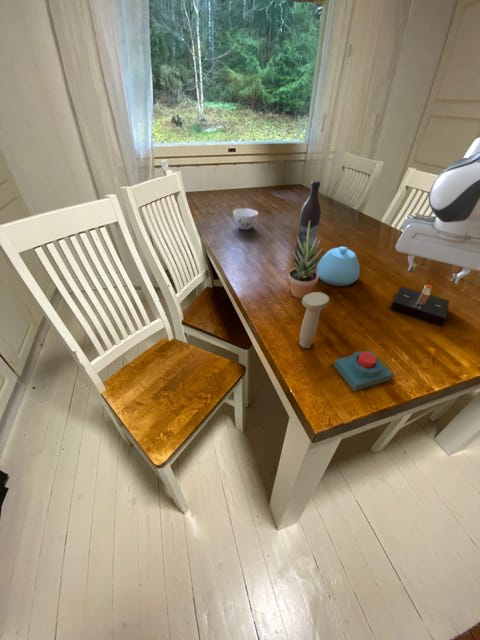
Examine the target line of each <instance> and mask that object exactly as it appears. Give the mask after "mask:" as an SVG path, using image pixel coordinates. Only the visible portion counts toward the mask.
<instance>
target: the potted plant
mask: <svg viewBox="0 0 480 640" xmlns="http://www.w3.org/2000/svg"><path fill="white" fill-rule="evenodd" d="M318 238H319V237H318V235H317V236H316V240H315V241H314V244H313V245H312V247H311V249H310V243H311V239H310V221H309V224H308V231H307V244H306V241H305V242H304V248H303V246H302V244H301V242H300V240H299V237H298V236H296V240H297V239H298V243H299V246H300V249H301V252H302V254H303V256H302V255H301V254H300V252H299V250H298V249H297V254H298V257H299V259H300V261H301V262H300V261H299V259H298V258H297V256H296V254H295V250H292V254H293V257H294V256H295V258H296V260H297V261H298V263H299V265H300V266H298V265H297V264H296V263H295V262H294V261H293V264H294V263H295V264H294V265H295V266H296V267H294V268H293V269H291V270H289V271H288V281H289V284H290V288H291V289H290V291H291V295H292V296H293V297H294V298H298V299H303V297H304V296H305V295H307V294H309V293H312V291H313V289H314V287H315V285H316V284H317V283H318V281H319V279H320V278H319V276H318V273H317V272H316V271H318V270H317V269H318V268H317V265H318V263H319V262H320V260H321V258H322V257H323V256H324V255H325V254H324V253H321V252H322V251H323V247H321V249H320V250H319V246H320V243H321V241H322V237H320V238H319V239H318ZM318 250H319V251H318ZM320 254H321V255H320ZM319 255H320V256H319ZM315 267H316V268H317V269H316V268H315ZM314 268H315V269H314Z"/></svg>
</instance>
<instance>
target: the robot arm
mask: <svg viewBox="0 0 480 640" xmlns="http://www.w3.org/2000/svg"><path fill="white" fill-rule="evenodd" d="M428 204H429V207H430V209H431V211H432V214H434V215H435V216H432V215H423V214H420V213H414V214H409V215H408V216H406V217H405V219H404V220H403V223H402V225H401V229H402V233H401V235H400V236H399V238H398V240H397V243H396V244H395V250H396V251H397V252H398V253H401V254H406V255H408V256H407V261H408V268H407V271H406V272H410V273H415V271H416V268H417V266H418V264H417V263H415V262H414V259H415V258H416V257H418V258H423V259H426V260H430V261H436V262H440V263H444V264H447V265H452V266H456V267H459V268H462V271H460V272H458V273H452V275H451V277H450V279H449V283H452V284H455V285H457V284H458V282H459V280H460V279H462V278H464V277H465V276H467V275H469V274H470V273H471V271H477V272H480V136H478V137H477V138H476V139H474V140H473V142H472V143H471V145H470V146H469V148H468V149H467V151H466V152H465V154H464V156H463V157H462V158H461V159H458V160H456V161H454V162H452V163H451V164H450V165H449V166H448V167H446V168H445V169H444V170H442V172H441V173H440V174H439V175H438V176H437V177H436V179H435V180H434V181H433V184H432V186H431V188H430V190H429V194H428Z"/></svg>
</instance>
